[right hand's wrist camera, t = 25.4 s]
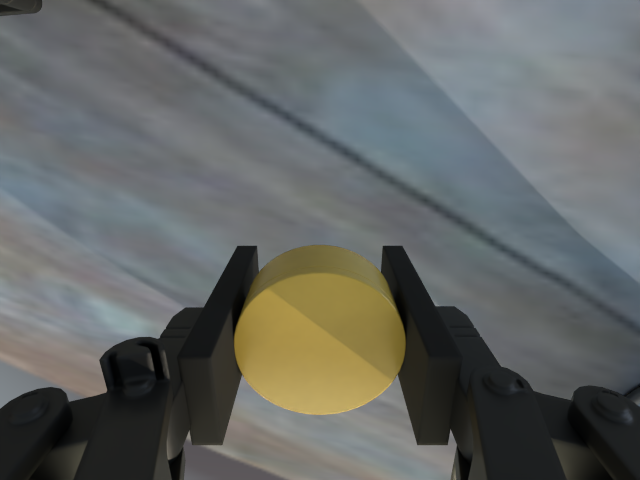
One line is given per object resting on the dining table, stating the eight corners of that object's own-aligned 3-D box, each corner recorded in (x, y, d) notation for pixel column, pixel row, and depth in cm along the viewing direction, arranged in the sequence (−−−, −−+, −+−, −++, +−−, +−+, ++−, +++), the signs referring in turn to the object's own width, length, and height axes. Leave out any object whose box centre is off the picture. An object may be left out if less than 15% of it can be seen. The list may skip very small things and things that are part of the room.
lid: (421, 281, 12) (440, 315, 10) (351, 389, 13) (356, 434, 12) (281, 218, 11) (274, 242, 9) (224, 341, 13) (209, 381, 11)
